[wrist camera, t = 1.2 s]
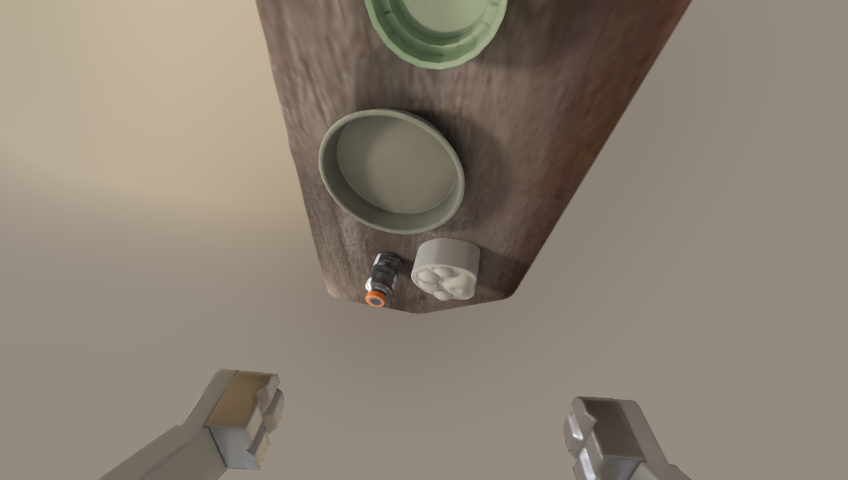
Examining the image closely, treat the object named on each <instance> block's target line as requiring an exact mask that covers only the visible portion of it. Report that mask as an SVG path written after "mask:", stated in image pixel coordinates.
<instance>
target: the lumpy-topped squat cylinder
mask: <svg viewBox="0 0 848 480" xmlns="http://www.w3.org/2000/svg"><path fill="white" fill-rule="evenodd" d="M479 259H480V249H479V247H477V246H476V245H475V244H473V243H470V242H467V241H462V240H457V239H450V238H436V239H432V240H429V241H426V242H425V243H423V244H422V245H421V246H420V247H419V249H418V252H417V256H416V259H415V263H414V266H413V270H412V273H411V278H412V280H413V282H414V283H415V284H416V285H417V286H418V287H419V288H421V289H422V290H424V291H426V292H428V293H430V294H432V295H435V297H437V298H438V299H439V300H443V301H446V300H449V299H450V298H451V299H462V300H465V299H469V298H471V297H473V296H474V294H475V287H476V281H477V275H478V267H479Z"/></svg>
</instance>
